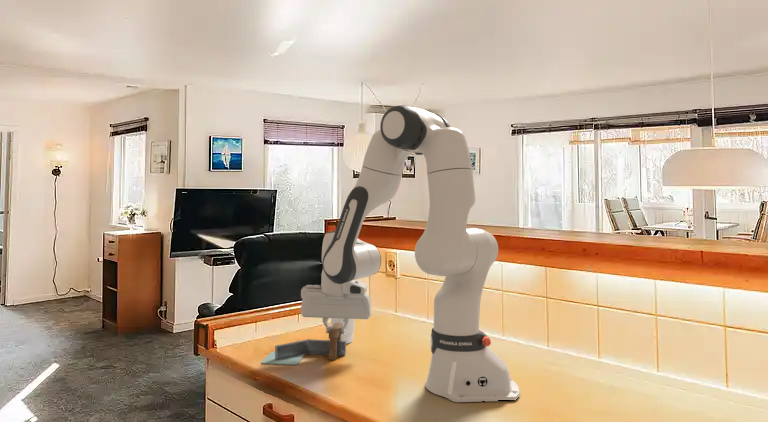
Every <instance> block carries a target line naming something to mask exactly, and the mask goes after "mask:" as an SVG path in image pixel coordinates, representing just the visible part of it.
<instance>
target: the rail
mask: <svg viewBox="0 0 768 422" xmlns="http://www.w3.org/2000/svg"><path fill="white" fill-rule="evenodd" d="M329 351H330V339H309V338H308V339H303V340H302V339H301V340H298V341H292V342H287V343H282V344H277V345H275V346H274V352H275V359H276V360H279V359H284V358H288V357H293V356H298V355H302V354H305V355H304V356H306V355H317V356H321V355H322V356H329ZM346 352H347V344H346V341H338V340H337V356H342V357H343V356H344V357H346V356H347V355H346V354H347V353H346Z"/></svg>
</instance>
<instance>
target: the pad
mask: <svg viewBox="0 0 768 422" xmlns="http://www.w3.org/2000/svg"><path fill="white" fill-rule="evenodd" d="M304 356H306V355H305V354H302V355H298V356H293V357H288V358H284V359H279V360H276V359H275V351H271V352H269V354H268V355H267V356H266V357H265V358H264V359H263V360H262V361H261V362H260V365H262V364H263V365H277V366H278V365H282V366H284V365H285V366H298V365H299V363H301V361H302V360H303V358H304Z"/></svg>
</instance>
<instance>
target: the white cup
mask: <svg viewBox="0 0 768 422" xmlns="http://www.w3.org/2000/svg"><path fill="white" fill-rule="evenodd" d="M355 320H356V319H349V322H348V324H347V325H346V327H345V334H341V341H346V345H347V344H352V343H353V342H354V333H355V322H356V321H355ZM334 323H342V326H344V324H345V322H343V319H341V318H330V326H333V324H334Z"/></svg>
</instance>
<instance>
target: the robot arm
mask: <svg viewBox="0 0 768 422" xmlns="http://www.w3.org/2000/svg"><path fill="white" fill-rule="evenodd" d="M373 133H374V134H372V136H371V138H370V140H369V143H368V146H367V148H366V151H365V154H364V158H363V161H362V167H361V169H360V173H359V176H358V178H357V180H356V182H355V185H354V187H353V188H352V190H351V191H350V193H348V196H347V198H346V200H345V203H344V205H343V208H342V210H341V213H340V217H339V219H338V221H337V222H338V223H337V225H336V229H335V230H331V231H327V233H325V234H324V236H323V239H322V247H321V262H322V271H321V283H320V284H313V285H312V284H306V285H304V286H302V288H301V289H300V298H301V299H302V300H301V307H300V314H301V316H302V317H303V318H315V319H316V318H317V319H318V318H320V319H322V323H323V325H324V326H325V328H326V329H325V333H326V334H329V331H330V329H331V328H332V326H331V325H330V324H329V322H328V321H329V319H331V318H341V319H343V322H345V324H344V326H340V328H339V330H340V332H339V334H345V327H346V325H347V324H348V322H349V319H355V320H369V318H370V317H371V316H372V305H371V298H370V295H369V293H368V292H367V291H368V285H367V284H366V283H364V282H362V281H359V280H360V279H361V280H362V279H365V278H369V277H371V276H373V275H375V274H377V273H378V272H379V270H380V268H381V266H382V265H381V264H382V256H381V252H380V250H379V249H378V248H377V247H376V245H374V244H372V243H368V242H366V241H363V240H361V239H360V238H359V235H360V232H361V229H362V227H363V223H364V221H365V219H366V218H367V216H369V214H370V213H371V212H373V211H374V210H375V209H376V208H379V207H380V206H382V205H384V204H386V203H388V202H389V201H391V200H392V199H393V198H395V196H396V194H397V192H398V189H399V187H400V184H401V181H402V177H403V171H404V167H405V163H406V161H407V159H408V158H409V156H410V155H412V154H415V155H416V156H422V155H423V156H424V160H425V164H426V176H427V185H428V187H427V188H428V199H429V209H428V210H429V211H428V216H427V217H428V218H427V221H426V225H425V228H424V231H423V234H422V235H421V236H420V237H419V239H418V240H417V241H416V244H415V247H414V258H415V262H416V264H417V266H418V268H419V269H420V270H421V271H422V272H424V273H425V274H427V275H432V276H437V277H444V281H443V283H442V285H441V287H440V289H439V290H438V291H437V292H436V293H435V296H434V299H433V325H432V326H433V327H432V329H431V333H430V352H431V358H430V365H429V369H428V373H427V378H426V381H425V384H424V386H425V388H426V390H428V391H429V392H431V393H432V394H434V395H437V396H440V397H442V398H443V397H444V398H446V399H447V400H449V401H451V402H453V403H473V402H474V403H476V402H477V403H481V402H482V401H485V402H499V401H498V400H515V399H517V398H518V397H519V398H520V396H519V395H521V394H520V388H519V385H518V384H517V383H516V381H514V380H513V379H512V378H511V375H510V370H509V368H508V365H507V364H506V362H505V361H504V359H502V358H501V357H500V356H499V355H497V354H496V353H495V352H494V351H492V350H491V349H490V348H489V347H490V345H492V340H491V338H490V337H489V336H488V335H487V334H486V333H485V331H482V330H480V313H481V302H482V301H481V300H482V294H483V290H484V286H485V282H486V280H487V277H488V273H489V271H490V269H491V266H492V265H493V264H494V262H495V261H496V260H497V258H498V255H499V243H498V241H497V239H496V237H495V236H494V235H493V234H492V233H491V232H489V231H487V230H484V229H481V228H478V227H468V226H467V225H468V218H469V213H470V210H471V209H472V208H473V207H474V205H475V203H476V191H475V183H474V182H475V181H474V175H473V164H472V159H471V154H470V153H471V152H470V150H469V147H468V142H467V139H466V136H465V134H464V132H462V130H461V129H458V128H456V127H453V126H452V127H451V125H450V123H449V122H448V121H447V120H446V119H445V118H444V117H443V116H441V115H440V114H438V113H437V114H436V113H433V112H430V111H428V110H426V109H424V108H420V107H413V106H409V105H405V104H404V105H403V104H402V105H395V106H392V107H389V108H388V109H387V110H386V111H385V112H384V114H383V116H382V118H381V120H380V126H379V129H378V130H376V131H375V132H373ZM519 398H518V399H519ZM518 399H517V400H518ZM515 401H516V400H515Z"/></svg>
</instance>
